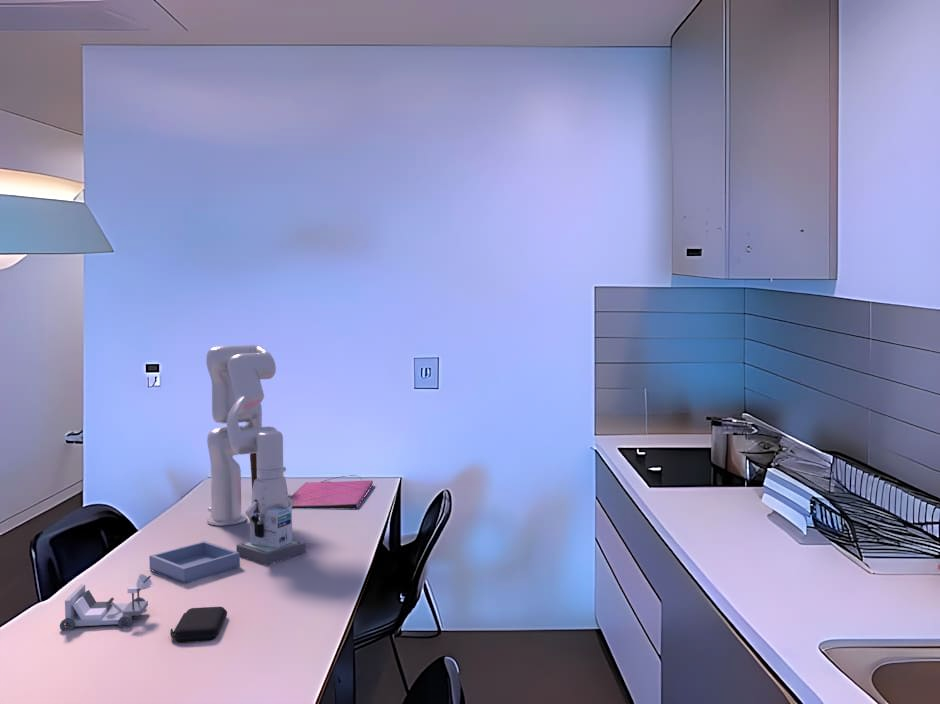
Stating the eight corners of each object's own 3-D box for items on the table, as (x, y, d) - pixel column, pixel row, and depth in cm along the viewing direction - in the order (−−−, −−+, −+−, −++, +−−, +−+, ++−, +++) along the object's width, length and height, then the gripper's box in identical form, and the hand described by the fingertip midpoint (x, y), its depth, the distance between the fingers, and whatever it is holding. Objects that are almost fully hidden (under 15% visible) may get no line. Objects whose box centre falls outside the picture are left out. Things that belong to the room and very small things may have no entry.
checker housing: (236, 555, 227) (236, 544, 226) (276, 543, 238) (275, 533, 237) (266, 565, 218) (266, 554, 218) (305, 552, 229) (305, 542, 229)
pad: (243, 549, 227) (243, 544, 227) (275, 540, 235) (275, 535, 235) (267, 557, 220) (267, 551, 220) (298, 547, 228) (298, 542, 228)
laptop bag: (356, 500, 277) (281, 500, 278) (357, 511, 277) (281, 511, 278) (374, 474, 317) (308, 475, 318) (375, 484, 317) (308, 484, 318)
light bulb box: (293, 542, 228) (292, 506, 228) (278, 549, 222) (277, 511, 221) (264, 537, 233) (263, 502, 232) (248, 544, 227) (248, 507, 226)
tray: (149, 570, 214) (149, 555, 214) (205, 554, 227) (204, 541, 227) (184, 584, 203) (183, 568, 203) (239, 566, 216) (239, 552, 216)
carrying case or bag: (181, 618, 182) (165, 646, 167) (181, 605, 181) (165, 632, 167) (228, 616, 183) (217, 643, 169) (228, 603, 183) (217, 629, 168)
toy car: (156, 568, 187) (143, 585, 176) (157, 608, 188) (144, 628, 177) (77, 572, 185) (58, 589, 174) (78, 612, 186) (59, 632, 174)
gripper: (286, 467, 235) (287, 524, 236) (236, 477, 222) (237, 538, 223) (302, 470, 231) (303, 529, 232) (252, 480, 217) (253, 543, 218)
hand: (271, 533), depth 227 cm, fingers closed on light bulb box, 7 cm apart
